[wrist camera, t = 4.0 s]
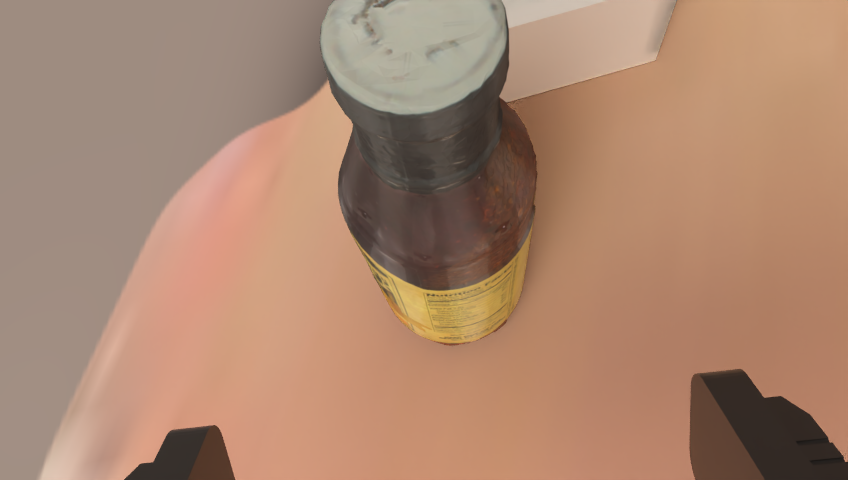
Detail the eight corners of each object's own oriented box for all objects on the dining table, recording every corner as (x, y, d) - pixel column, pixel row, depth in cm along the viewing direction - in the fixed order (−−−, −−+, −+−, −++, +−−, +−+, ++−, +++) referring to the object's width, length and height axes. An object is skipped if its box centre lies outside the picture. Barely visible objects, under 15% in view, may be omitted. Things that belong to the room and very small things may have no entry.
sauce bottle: (395, 221, 35) (288, -112, 17) (525, 227, 35) (563, -115, 16) (381, 355, 33) (239, 139, 14) (520, 364, 32) (559, 148, 14)
